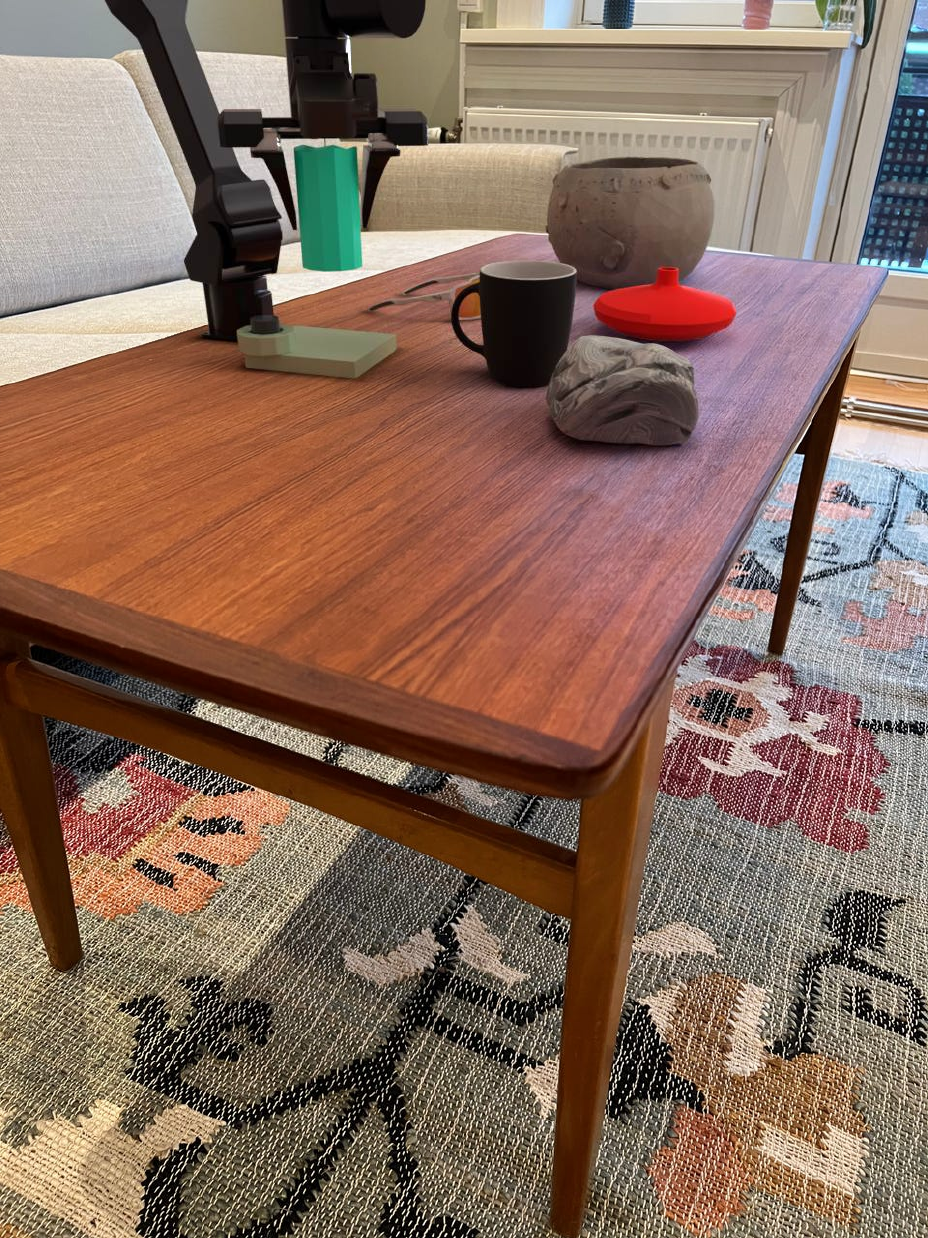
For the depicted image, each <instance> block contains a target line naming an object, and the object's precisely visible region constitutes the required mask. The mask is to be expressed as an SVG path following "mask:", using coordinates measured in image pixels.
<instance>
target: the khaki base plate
mask: <svg viewBox="0 0 928 1238" xmlns="http://www.w3.org/2000/svg"><path fill="white" fill-rule="evenodd" d="M237 339H238V341H237V345H238V352H239V353H241V354H243V356H244V364H245V368H247V369H256V370H266V371H277V372H287V373H296V374H297V373H298V374H306V375H317V376H327V377H337V378H347V379H357V378H359V377H361V375H363V374H364V373H366V372H367V371H369V370H370V369H371V368H373V367H375V366H376V365H378V363H380V362H381V361H383V360H385V358H388V356H390V355H392V354H393V353H395V351H397V350H398V349H397V347H398V346H397V334H396V333H389V332H388V333H385V332H377V331H376V332H374V331H363V330H353V329H340V328H331V327H316V326H306V325H289V324H285V323H280V333H275V334H268V335H259V334H252V329H251V325H249V326H245V327H242V328H240V329H238V330H237Z"/></svg>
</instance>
